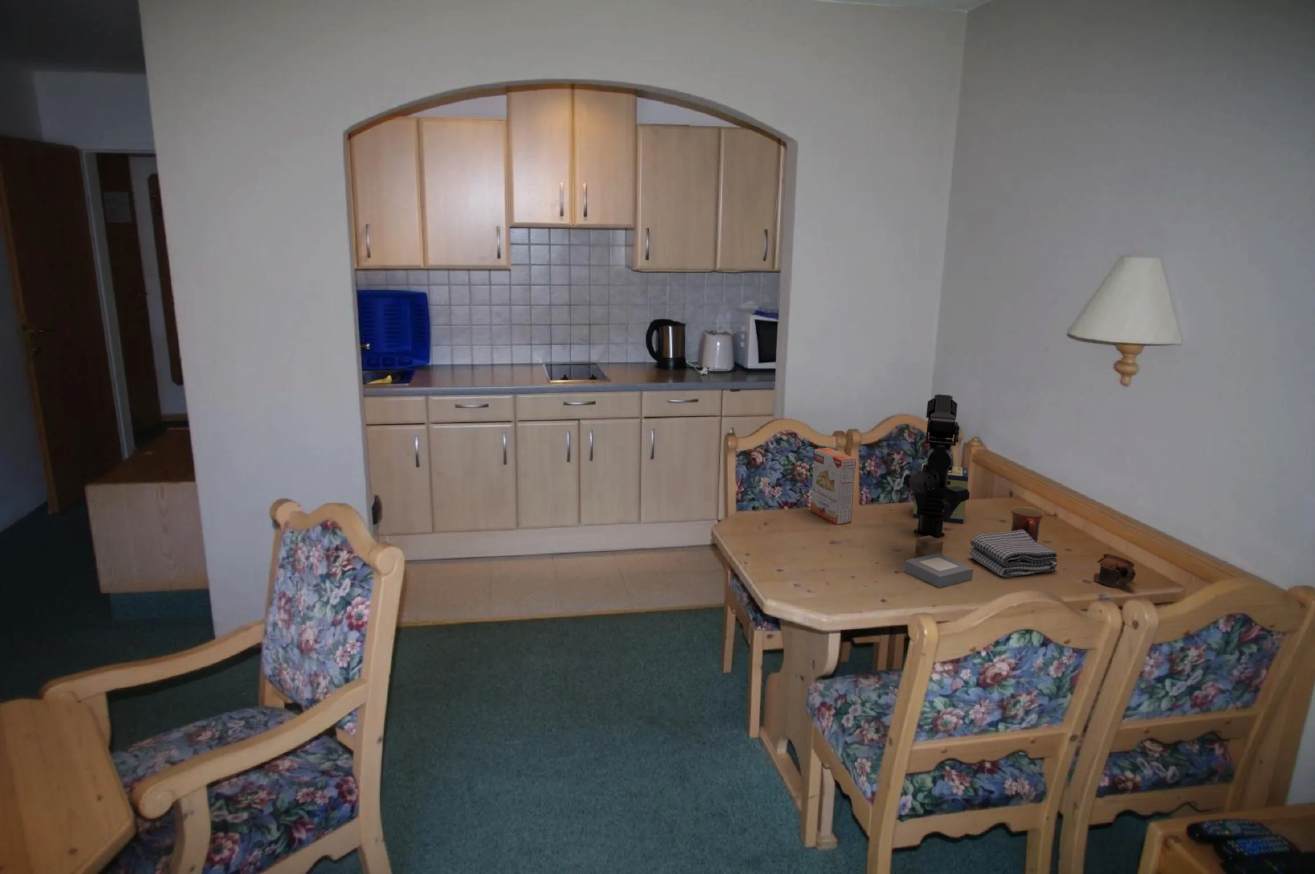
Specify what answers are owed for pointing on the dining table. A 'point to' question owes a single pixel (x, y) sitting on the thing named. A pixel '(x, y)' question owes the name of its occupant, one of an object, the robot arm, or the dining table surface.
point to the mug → (1026, 520)
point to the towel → (1012, 553)
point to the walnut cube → (928, 546)
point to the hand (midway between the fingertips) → (932, 516)
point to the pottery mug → (1114, 571)
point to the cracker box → (833, 485)
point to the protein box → (957, 478)
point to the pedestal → (938, 570)
